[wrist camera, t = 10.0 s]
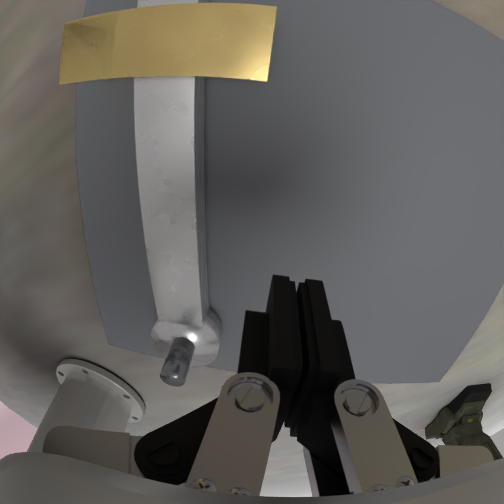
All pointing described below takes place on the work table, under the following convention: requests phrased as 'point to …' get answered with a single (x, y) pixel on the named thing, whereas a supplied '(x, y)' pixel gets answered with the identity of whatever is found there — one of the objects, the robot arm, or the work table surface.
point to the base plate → (326, 183)
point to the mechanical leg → (464, 421)
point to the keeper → (171, 43)
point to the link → (175, 216)
